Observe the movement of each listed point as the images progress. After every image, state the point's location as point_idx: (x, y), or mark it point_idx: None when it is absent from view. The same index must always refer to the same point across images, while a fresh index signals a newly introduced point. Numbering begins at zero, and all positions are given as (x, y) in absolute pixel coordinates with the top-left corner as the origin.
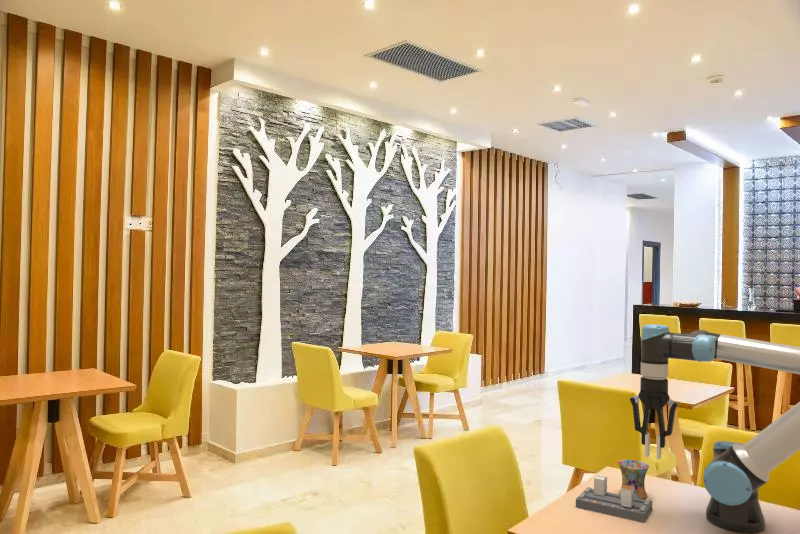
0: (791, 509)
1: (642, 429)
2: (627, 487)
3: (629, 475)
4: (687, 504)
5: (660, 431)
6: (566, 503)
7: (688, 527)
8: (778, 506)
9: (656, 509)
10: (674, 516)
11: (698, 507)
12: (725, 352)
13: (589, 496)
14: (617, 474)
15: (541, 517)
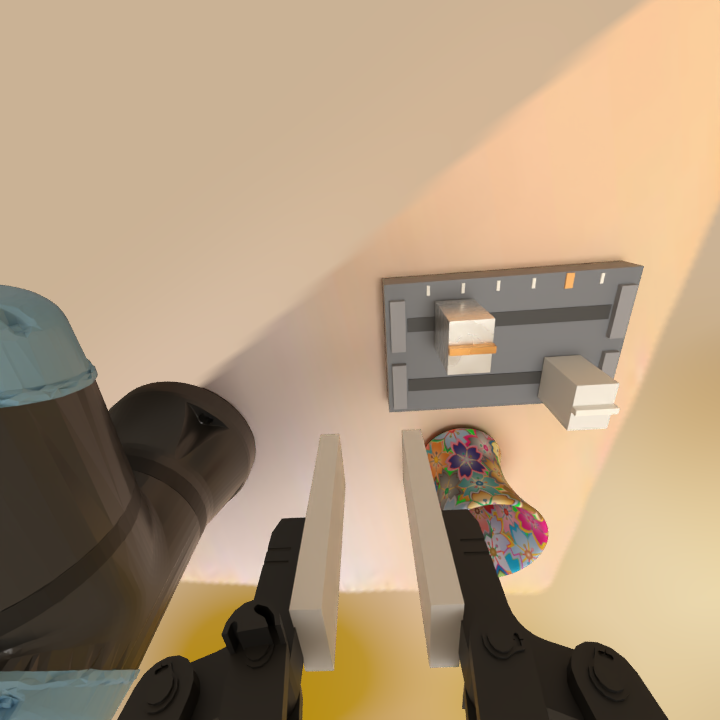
0: None
1: (527, 687)
2: (471, 345)
3: (487, 483)
4: None
5: (265, 707)
6: (657, 274)
7: (262, 331)
8: None
9: (378, 406)
10: (321, 387)
11: (290, 481)
12: None
13: (592, 326)
14: (523, 568)
15: None
